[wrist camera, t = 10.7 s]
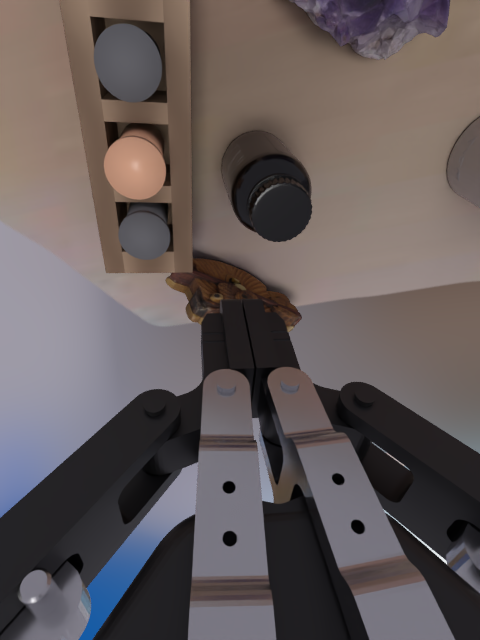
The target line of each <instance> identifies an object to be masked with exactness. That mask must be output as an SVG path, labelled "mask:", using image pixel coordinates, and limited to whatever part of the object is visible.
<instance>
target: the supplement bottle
mask: <svg viewBox="0 0 480 640" xmlns="http://www.w3.org/2000/svg"><path fill="white" fill-rule="evenodd" d="M222 176H223V180H224V184H225V187H226V190H227V193H228V196H229V199H230V202H231V205H232V208H233V210H234V213H235V215H236V216H237V218H238V220H239V221H240V222H241V223H242V224H243V225H244V226H245V227H247V228H248V229H250V230H252V231H254V232H257V233H258V234H259V235H260V236H262V237H263V238H264V239H267V240H268V241H273V242H276V241H278V242H281V241H287V240H291V239H292V238H293V237H296V236H297V235H298V234H300V233H301V232H302V230H304V229H305V227H306V225H307V224H308V222H309V220H310V218H311V214H312V210H311V209H312V205H311V181H310V178H309V175H308V173H307V171H306V169H305V168H304V166H303V165H302V164H301V162H300V161H299V160H298V159H297V158H296V157H295V156H294V155H293V154H292V153H291V152H290V150H289V149H288V148H287V147H286V146H285V145H284V144H283V143H282V142H281V141H280V140H279V139H278V138H277V137H275V136H274V135H272V134H270V133H267V132H263V131H252V132H248V133H245V134H243V135H241V136H239V137H238V138H236V139H235V140H234V141H233V142H232V143H231V144H230V146H229V147H228V149H227V150H226V152H225V155H224V157H223V161H222Z"/></svg>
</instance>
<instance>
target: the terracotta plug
mask: <svg viewBox="0 0 480 640" xmlns="http://www.w3.org/2000/svg"><path fill="white" fill-rule="evenodd" d="M163 157H164V140H163V137H162V135H161V133H160V131H159V130H158V129H157V128H156V127H155V126H154V125H152V124H148V123H130V124H129V125H127V126H126V127H125V129H124V130H123V132H122V134H121V136H120V138H119V139H117V140H116V141H115V142H114V143H113V144H112V145H111V146H110V147H109V149H108V151H107V153H106V155H105V159H104V171H105V175H106V177H107V179H108V181H109V183H110V185H111V186H112V187H113V188H114V189H115V190H116V191H117V192H118V193H120V194H121V195H123V196H125V197H127V198H130V199H137V200H141V199H147V198H150V197H152V196H154V195H155V194H156V193H158V192H159V190H160V189H161V188H162V186H163V184H164V181H165V177H166V164H165V160H164V158H163Z"/></svg>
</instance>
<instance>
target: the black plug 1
mask: <svg viewBox="0 0 480 640" xmlns="http://www.w3.org/2000/svg"><path fill="white" fill-rule="evenodd" d="M94 64H95V69H96V72H97V75H98V77H99V79H100V81H101V83H102V84H103V86H104V87H105V88H106V89H107V90H108V91H109V92H110V93H111V94H112V95H113V96H115V97H116V98H118V99H120V100H123V101H126V102H141V101H144V100H146V99H148V98H149V97H150V96H151V95H152V94H153V93H154V92H155V91H156V89H157V88H158V86H159V83H160V80H161V76H162V61H161V54H160V50H159V47H158V45H157V43H156V41H155V40H154V39H153V37H152V36H151V35H150V34H148V33H147V32H146V31H144V30H142V29H140V28H138V27H136V26H134V25H131V24H115V25H112V26H110V27H108V28H107V29H105V30H104V31H103V32H102V33H101V34H100V36H99V38H98V39H97V42H96V45H95V49H94Z"/></svg>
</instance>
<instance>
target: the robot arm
mask: <svg viewBox="0 0 480 640" xmlns="http://www.w3.org/2000/svg"><path fill="white" fill-rule="evenodd" d="M447 176H448V181H449V184H450V186H451V188H452V189H453V190H454V192H455V193H457V194H458V195H460V196H462V197H463V198H465V199H466V200H468V201H469V202H471V203H473V204H474V205H476V206H477V207H479V208H480V117H479V118H478V119H477V120H476V121H474V122H473V123H472V124H471V125H470V126H469V127H468V128H467V129H466V130H465V131H464V132H463V134H462V135H461V136H460V138H459V139H458V141H457V142H456V144H455V146H454V148H453V150H452V152H451V155H450V158H449V161H448V168H447ZM201 357H202V377H203V380H202V382H201V383H200V385H199V386H198V387H197V388H196V389H194V390H193V391H191V392H189V393H186V394H183V395H180V396H177V397H176V396H175V395H174V394H173V393H171V392H169V391H166V390H162V389H154V390H149V391H146V392H143V393H142V394H140V395H138V396H137V397H136V398H135V399H134V400H133V401H131V402H130V403H129V404H128V405H127V406H126V407H125V408H124V409H123V410H121V411H120V412H119V413H118V414H117V415H116V416H115V417H113V418H112V419H111V420H110V421H109V422H108V423H107V424H106V425H104V426H103V427H102V428H101V429H100V430H99V431H98V432H97V433H96V434H94V435H93V436H92V437H91V438H90V439H89V440H88V441H86V442H85V443H84V444H83V445H82V446H81V447H80V448H79V449H78V450H76V451H75V452H74V453H73V454H72V455H71V456H70V457H69V458H67V459H66V460H65V461H64V462H63V463H62V464H61V465H59V466H58V467H57V468H56V469H55V470H54V471H53V472H52V473H50V474H49V475H48V476H47V477H46V478H45V479H44V480H43V481H42V482H40V483H39V484H38V485H37V486H36V487H35V488H34V489H33V490H31V491H30V492H29V493H28V494H27V495H26V496H25V497H23V498H22V499H21V500H20V501H19V502H18V503H17V504H16V505H14V506H13V507H12V508H11V509H10V510H9V511H8V512H7V513H5V514H4V515H3V516H2V517H1V518H0V640H78V639H79V638H80V636H81V634H82V633H83V631H84V629H85V627H86V625H87V622H88V620H89V617H90V611H91V600H90V596H89V593H88V591H87V589H86V588H87V587H88V585H89V584H90V583H91V582H92V580H93V579H94V578H95V577H96V576H97V574H98V573H99V572H100V571H101V569H102V568H103V567H104V566H105V565H106V563H107V562H108V561H109V560H110V558H111V557H112V556H113V555H114V554H115V552H116V551H117V550H118V549H119V547H120V546H121V545H122V544H123V543H124V541H125V540H126V539H127V537H128V536H129V535H130V534H131V533H132V531H133V530H134V529H135V528H136V527H137V525H138V524H139V523H140V521H141V520H142V519H143V518H144V517H145V515H146V514H147V513H148V512H149V511H150V509H151V508H152V507H153V506H154V504H155V503H156V502H157V501H158V500H159V498H160V497H161V496H162V495H163V494H164V492H165V491H166V490H167V489H168V487H169V486H170V485H171V484H172V482H173V481H174V480H175V479H176V478H177V476H178V475H179V474H180V472H181V470H182V468H184V467H187V466H189V465H192V464H194V463H197V462H198V477H197V494H196V513H195V515H192V516H191V517H189V518H187V519H185V520H184V521H182V522H181V523H179V524H178V525H177V526H175V527H174V528H173V529H172V530H171V531H170V532H169V533H168V534H167V535H166V536H165V537H164V538H163V540H162V541H161V542H160V543H159V545H158V546H157V547H156V549H155V550H154V552H153V553H152V555H151V556H150V557H149V559H148V560H147V562H146V563H145V565H144V566H143V567H142V569H141V570H140V572H139V573H138V575H137V576H136V578H135V579H134V580H133V582H132V584H131V585H130V586H129V588H128V589H127V591H126V592H125V593H124V595H123V597H122V598H121V599H120V601H119V602H118V604H117V605H116V606H115V608H114V609H113V611H112V612H111V614H110V615H109V617H108V618H107V619H106V621H105V622H104V624H103V625H102V627H101V628H100V629H99V631H98V632H97V634H96V635H95V637H94V638H93V640H480V454H479V453H478V452H476V451H474V450H473V449H471V448H470V447H468V446H466V445H465V444H463V443H462V442H460V441H459V440H457V439H456V438H454V437H452V436H451V435H449V434H448V433H446V432H445V431H443V430H441V429H440V428H438V427H437V426H435V425H433V424H432V423H430V422H429V421H427V420H426V419H424V418H422V417H421V416H419V415H417V414H416V413H415V412H413V411H412V410H410V409H408V408H407V407H405V406H404V405H402V404H400V403H399V402H397V401H396V400H394V399H393V398H391V397H389V396H388V395H386V394H385V393H383V392H381V391H380V390H378V389H377V388H375V387H374V386H372V385H369V384H366V383H363V382H351V383H348V384H346V385H345V386H343V388H342V389H341V391H338V390H333V389H329V388H324V387H320V386H318V385H315V384H314V383H312V381H311V379H310V378H309V377H308V375H306V373H304V372H303V371H301V370H300V367H299V364H298V361H297V358H296V355H295V352H294V349H293V346H292V343H291V341H290V336H289V333H288V330H287V327H286V324H285V321H284V320H283V319H282V318H281V317H280V316H279V315H278V314H277V313H276V312H265V308H264V305H263V301H262V299H221V300H220V313H207V314H206V316H205V317H204V319H203V321H202V322H201ZM252 418H259V422H260V431H259V441H260V444H261V448H262V452H263V455H264V460H265V463H266V467H267V471H268V475H269V479H270V482H271V486H272V490H273V496H274V503H270V502H265V501H262V495H261V483H260V471H259V459H258V448H257V442H256V440H254V436H253V424H252ZM372 442H374V443H375V444H376V445H378V446H379V447H380V448H382V449H383V450H385V451H386V452H387V453H389V454H390V455H391V456H393V457H394V458H396V459H397V460H398V461H400V462H401V463H402V464H404V465H405V466H406V467H408V468H409V469H410V470H408V469H407V468H405V467H404V466H402V465H401V464H400V463H398V462H397V461H396V460H394V459H393V458H391V457H390V456H389V455H387V454H386V453H384V452H383V451H382V450H380V449H379V448H378V447H376V446H375V445H374V444H372ZM383 509H384V510H386V511H387V512H388V513H389V514H390V515H391V516H393V517H394V518H395V519H396V520H398V521H399V522H400V523H401V524H402V525H404V526H405V527H406V528H407V529H409V530H410V531H411V532H412V533H413V534H415V535H416V536H417V537H418V538H420V539H421V540H422V541H423V542H425V543H426V544H427V545H428V546H429V547H431V548H432V549H433V550H434V551H435V552H437V553H438V554H439V555H440V556H442V557H443V558H444V559H445V560H446V561H447V564H445V563H444V562H443V561H442V560H441V559H440V558H439V557H437V556H436V555H435V554H434V553H433V552H431V551H430V550H429V549H428V548H427V547H426V546H425V545H424V544H422V543H421V542H420V541H419V540H418V539H417V538H415V537H414V536H413V535H412V534H411V533H410V532H409V531H407V530H406V529H405V528H404V527H403V526H401V525H400V524H399V523H398V522H397V521H396V520H394V519H393V518H392V517H390V516H389V515H388V514H386V513H385V512H384V510H383Z"/></svg>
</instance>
